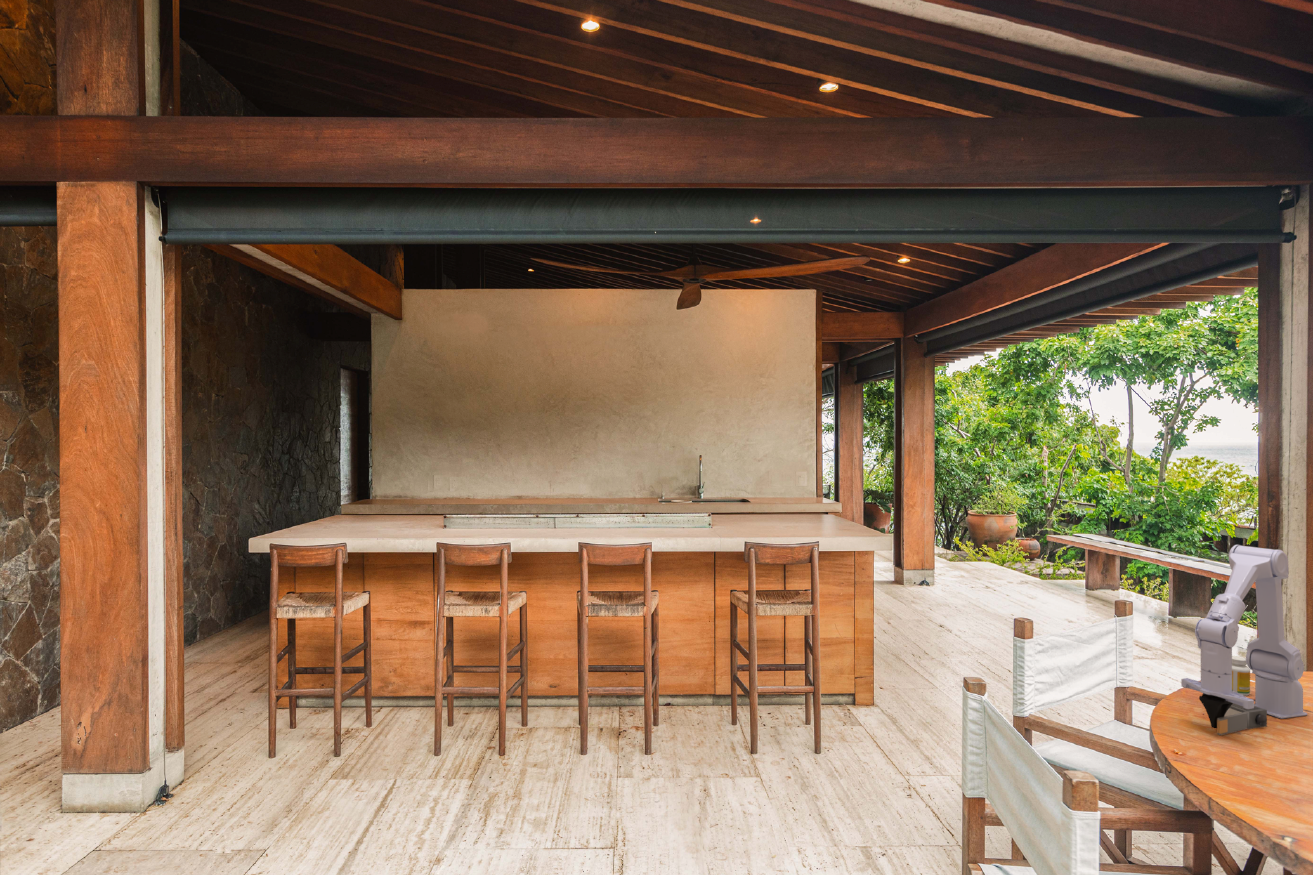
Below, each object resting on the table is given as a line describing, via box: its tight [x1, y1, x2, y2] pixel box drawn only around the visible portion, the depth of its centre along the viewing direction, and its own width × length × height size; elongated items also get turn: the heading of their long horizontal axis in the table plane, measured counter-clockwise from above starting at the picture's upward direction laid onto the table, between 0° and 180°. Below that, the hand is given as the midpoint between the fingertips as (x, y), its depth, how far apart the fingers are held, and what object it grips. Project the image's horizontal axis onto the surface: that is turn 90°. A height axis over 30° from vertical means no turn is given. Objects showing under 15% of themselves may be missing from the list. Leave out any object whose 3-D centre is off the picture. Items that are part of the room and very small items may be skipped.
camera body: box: [1224, 703, 1268, 730], centre depth 163 cm, size 6×8×4 cm
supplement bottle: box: [1232, 655, 1251, 697], centre depth 182 cm, size 5×5×10 cm
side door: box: [1216, 712, 1250, 736], centre depth 157 cm, size 1×11×4 cm, turn 111°
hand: (1216, 727), depth 157 cm, fingers closed
